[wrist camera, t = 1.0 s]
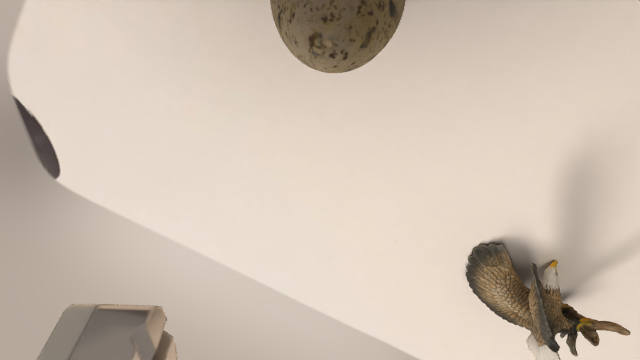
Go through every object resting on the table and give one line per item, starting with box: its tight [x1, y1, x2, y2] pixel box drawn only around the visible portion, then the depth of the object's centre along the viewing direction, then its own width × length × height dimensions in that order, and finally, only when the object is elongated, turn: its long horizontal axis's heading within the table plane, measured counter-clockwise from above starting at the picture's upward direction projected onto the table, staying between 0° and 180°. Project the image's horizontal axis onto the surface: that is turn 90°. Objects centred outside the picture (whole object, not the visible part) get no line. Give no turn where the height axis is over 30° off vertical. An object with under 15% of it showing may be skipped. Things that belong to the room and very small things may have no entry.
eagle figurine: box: [466, 243, 630, 360], centre depth 38 cm, size 8×7×9 cm
